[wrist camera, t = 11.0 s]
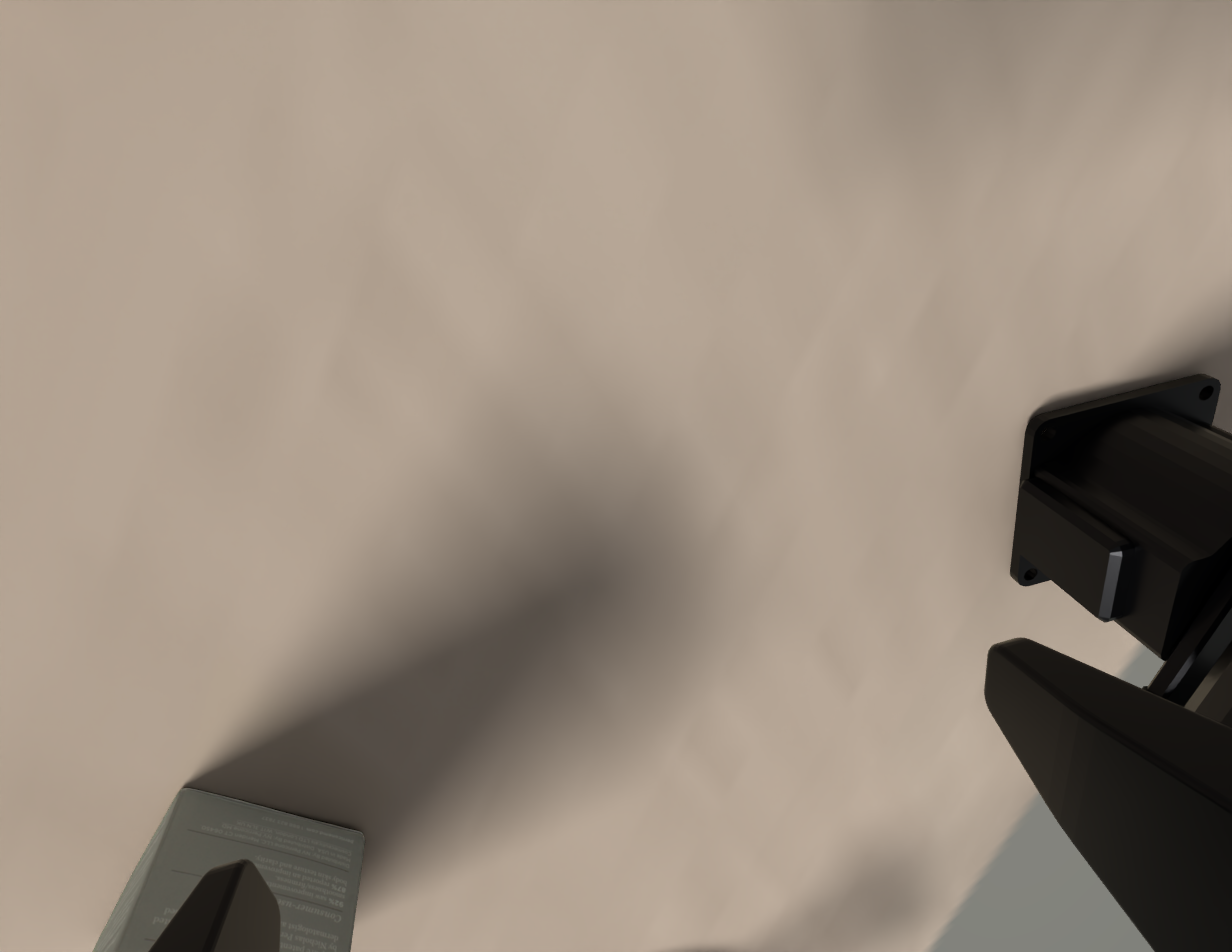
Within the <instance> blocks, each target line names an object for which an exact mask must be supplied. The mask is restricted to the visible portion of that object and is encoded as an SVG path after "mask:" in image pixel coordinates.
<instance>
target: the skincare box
mask: <svg viewBox="0 0 1232 952" xmlns="http://www.w3.org/2000/svg"><path fill="white" fill-rule="evenodd" d="M364 845H365V838H364V837H363V833H361V832H360V831H355V830H351V829H347V828H343V827H339V826H336V825H332V824H327V823H323V822H319V821H315V820H312V819H308V818H304V817H300V816H296V815H292V814H288V813H285V812H281V811H277V810H274V809H270V808H267V807H263V806H260V805H256V804H251V803H247V802H244V801H241V800H237V799H233V798H229V797H225V796H221V795H217V794H213V793H208V792H204V791H200V790H196V789H191V788H183V789H181V790H180V791H179V792H178V794H177V796H176V797H175V799H174V801H173V802H172V804H171V806H170V807H169V809H168V811H167V813H166V815H165V816H164V818H163V820H162V822H161V823H160V825H159V827H158V829H157V830H156V832H155V834H154V836H153V837H152V839H151V841H150V843H149V844H148V846H147V848H146V850H145V852H144V853H143V855H142V857H141V859H140V861H139V862H138V864H137V866H136V868H135V870H134V871H133V873H132V875H131V877H130V879H129V881H128V883H127V885H126V887H125V889H124V891H123V893H122V894H121V896H120V898H119V900H118V902H117V904H116V906H115V908H114V910H113V912H112V914H111V916H110V918H109V920H108V922H107V924H106V926H105V928H104V930H103V932H102V933H101V935H100V937H99V939H98V941H97V943H96V945H95V948H94V950H93V952H148V951H149V949H150V948H151V946H152V945H153V944H154V942H155V941H156V940H157V938H158V937H159V936H160V934H161V933H162V931H163V930H164V929H165V927H166V926H167V925H168V923H169V922H170V920H171V919H172V918H173V916H174V915H175V914H176V912H177V911H178V910H179V908H180V907H181V905H182V904H183V903H184V901H185V900H186V899H187V897H188V896H189V895H190V893H191V892H192V890H193V889H194V888H195V886H196V885H197V884H198V882H199V881H200V879H201V878H202V877H203V876H204V874H205V873H207V872H208V871H209V870H210V869H211V868H213V867H216V866H219V865H222V864H226V863H229V862H233V861H236V860H240V859H248V860H250V861H252V862H253V863H254V865H255V866H256V868H257V869H258V871H259V872H260V874H261V875H262V877H263V878H264V880H265V882H266V883H267V885H268V886H269V888H270V889H271V891H272V893H273V894H274V896H275V897H276V899H277V902H278V905H279V909H280V915H281V933H280V952H350V950H351V943H352V935H353V928H354V920H355V912H356V905H357V898H358V891H359V884H360V877H361V869H362V861H363V852H364Z"/></svg>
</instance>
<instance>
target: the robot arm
mask: <svg viewBox="0 0 1232 952" xmlns="http://www.w3.org/2000/svg"><path fill="white" fill-rule="evenodd" d="M1220 386H1221V384H1220V382H1219V380H1217V379H1215V378H1213V377H1210V376H1208V375H1205V374H1198V375H1194V376H1190V377H1186V378H1182V379H1178V380H1174V381H1170V382H1166V383H1162V384H1158V385H1154V386H1150V387H1147V388H1143V389H1139V390H1135V391H1131V392H1127V393H1123V394H1119V395H1115V396H1111V397H1107V398H1103V399H1099V400H1095V401H1091V402H1087V403H1083V404H1079V405H1075V406H1071V407H1068V408H1064V409H1060V410H1056V411H1052V412H1048V413H1044V414H1041V415H1038V416H1036V417H1035V418H1033V419H1032V420H1031V421H1030V423H1029V424H1028V426H1027V428H1026V431H1025V439H1024V448H1023V457H1022V467H1021V476H1020V485H1019V494H1018V503H1017V512H1016V522H1015V531H1014V540H1013V549H1012V558H1011V567H1010V575H1011V577H1012V578H1013V579H1014V580H1015V581H1016V582H1017V583H1019V584H1020V585H1022V586H1031V585H1034V584H1038V583H1041V582H1045V581H1049V580H1052V581H1053V582H1054V583H1055V584H1057V585H1058V586H1059V587H1060V588H1061V589H1063V590H1064V591H1065V592H1066V593H1068V594H1069V595H1070V596H1071V597H1072V598H1074V599H1075V600H1076V601H1077V602H1078V603H1080V604H1081V605H1082V606H1083V607H1084V608H1086V609H1087V610H1088V611H1089V612H1090V613H1092V614H1093V615H1094V616H1095V617H1097V618H1098V619H1100V620H1101V621H1103V622H1109V621H1113V620H1114V621H1115V622H1116V623H1118V624H1119V625H1120V626H1121V627H1122V628H1124V629H1125V630H1126V631H1127V632H1129V633H1130V634H1131V635H1132V636H1134V637H1135V638H1136V639H1137V640H1138V641H1140V642H1141V643H1142V644H1143V645H1145V646H1146V647H1147V648H1148V649H1150V650H1151V651H1152V652H1153V653H1155V654H1156V655H1157V656H1158V657H1159V658H1161V659H1162V660H1164V661H1165V662H1164V664H1163V665H1162V667H1161V668H1160V670H1159V671H1158V672H1157V674H1156V675H1155V677H1154V678H1153V680H1152V681H1151V683H1150V684H1149V686H1144V687H1143V688H1142V689H1141V688H1139V687H1137V686H1134V685H1132V684H1130V683H1128V682H1125V681H1123V680H1121V679H1119V678H1116V677H1114V676H1112V675H1110V674H1107V673H1105V672H1103V671H1101V670H1098V669H1096V668H1094V667H1091V666H1089V665H1087V664H1085V663H1082V662H1080V661H1078V660H1076V659H1073V658H1071V657H1069V656H1067V655H1064V654H1062V653H1060V652H1057V651H1055V650H1053V649H1051V648H1048V647H1046V646H1044V645H1042V644H1039V643H1037V642H1035V641H1032V640H1030V639H1027V638H1014V639H1011V640H1007V641H1004V642H1000V643H997V644H994V645H992V646H991V648H990V649H989V651H988V657H987V667H986V678H985V688H984V695H985V700H986V704H987V706H988V709H989V711H990V713H991V714H992V716H993V718H994V719H995V721H996V723H997V724H998V726H999V727H1000V729H1001V731H1002V732H1003V734H1004V736H1005V737H1006V739H1007V741H1008V742H1009V744H1010V746H1011V747H1012V749H1013V750H1014V752H1015V754H1016V755H1017V757H1018V759H1019V760H1020V762H1021V764H1022V765H1023V767H1024V768H1025V770H1026V772H1027V773H1028V775H1029V777H1030V778H1031V780H1032V782H1033V783H1034V785H1035V786H1036V788H1037V790H1038V791H1039V793H1040V795H1041V796H1042V798H1043V800H1044V801H1045V803H1046V805H1047V806H1048V807H1049V809H1050V811H1051V812H1052V814H1053V815H1054V817H1055V818H1056V820H1057V822H1058V823H1059V824H1060V826H1061V827H1062V829H1063V830H1064V831H1065V833H1066V834H1067V836H1068V837H1069V838H1070V840H1071V841H1072V842H1073V844H1074V845H1075V847H1076V848H1077V849H1078V851H1079V852H1080V853H1081V855H1082V856H1083V857H1084V858H1085V860H1086V861H1087V862H1088V864H1089V865H1090V867H1091V868H1092V869H1093V871H1094V872H1095V873H1096V874H1097V876H1098V877H1099V878H1100V880H1101V881H1102V882H1103V884H1104V885H1105V886H1106V888H1107V889H1108V890H1109V892H1110V893H1111V894H1112V896H1113V897H1114V898H1115V900H1116V901H1117V902H1118V904H1119V905H1120V906H1121V908H1122V909H1123V910H1124V912H1125V913H1126V914H1127V916H1128V917H1129V918H1130V920H1131V921H1132V922H1133V924H1134V925H1135V926H1136V928H1137V929H1138V930H1139V932H1140V933H1141V934H1142V935H1143V937H1144V938H1145V940H1146V941H1147V942H1148V944H1149V945H1150V946H1151V948H1152V949H1153V950H1154V951H1155V952H1232V434H1230V433H1228V432H1226V431H1224V430H1222V429H1219V428H1217V427H1215V426H1213V425H1212V422H1213V418H1214V414H1215V410H1216V405H1217V401H1218V397H1219V393H1220ZM1045 428H1047V429H1046V431H1045V432H1044V433H1043V434H1042V431H1043V430H1044V429H1045ZM280 933H281V915H280V909H279V905H278V902H277V899H276V897H275V896H274V894H273V893H272V891H271V889H270V888H269V886H268V885H267V883H266V882H265V880H264V878H263V877H262V875H261V874H260V872H259V871H258V869H257V868H256V866H255V865H254V863H253V862H252V861H250V860H248V859H240V860H236V861H233V862H229V863H226V864H222V865H219V866H216V867H213V868H211V869H210V870H209V871H208V872H207V873H205V874H204V876H203V877H202V878H201V879H200V881H199V882H198V884H197V885H196V886H195V888H194V889H193V890H192V892H191V893H190V895H189V896H188V897H187V899H186V900H185V901H184V903H183V904H182V905H181V907H180V908H179V910H178V911H177V912H176V914H175V915H174V916H173V918H172V919H171V920H170V922H169V923H168V925H167V926H166V927H165V929H164V930H163V931H162V933H161V934H160V936H159V937H158V938H157V940H156V941H155V942H154V944H153V945H152V946H151V948H150V949H149V951H148V952H280Z"/></svg>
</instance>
